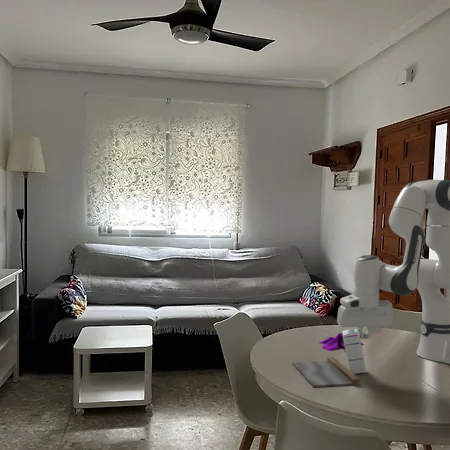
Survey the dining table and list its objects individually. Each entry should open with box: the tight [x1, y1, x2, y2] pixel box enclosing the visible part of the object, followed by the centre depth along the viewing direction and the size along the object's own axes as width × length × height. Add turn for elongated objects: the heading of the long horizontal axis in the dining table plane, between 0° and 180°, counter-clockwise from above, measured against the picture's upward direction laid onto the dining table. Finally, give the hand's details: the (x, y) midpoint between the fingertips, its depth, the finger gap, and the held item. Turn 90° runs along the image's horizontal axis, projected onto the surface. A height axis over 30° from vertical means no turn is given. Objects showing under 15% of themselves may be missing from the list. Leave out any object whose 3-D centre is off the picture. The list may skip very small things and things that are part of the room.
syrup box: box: [341, 328, 368, 375], centre depth 165 cm, size 6×6×14 cm
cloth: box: [318, 332, 365, 353], centre depth 196 cm, size 22×19×6 cm
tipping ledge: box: [292, 356, 361, 388], centre depth 162 cm, size 16×22×2 cm
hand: (364, 338), depth 164 cm, fingers closed
